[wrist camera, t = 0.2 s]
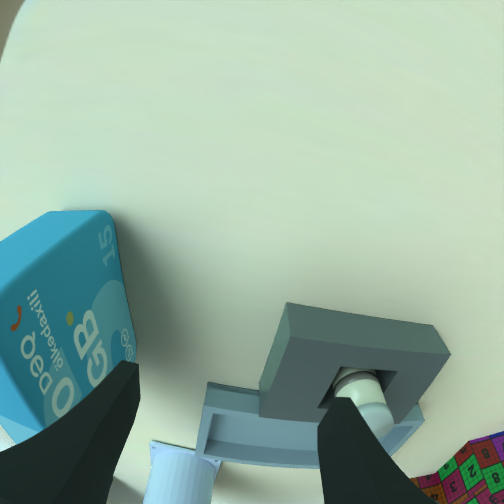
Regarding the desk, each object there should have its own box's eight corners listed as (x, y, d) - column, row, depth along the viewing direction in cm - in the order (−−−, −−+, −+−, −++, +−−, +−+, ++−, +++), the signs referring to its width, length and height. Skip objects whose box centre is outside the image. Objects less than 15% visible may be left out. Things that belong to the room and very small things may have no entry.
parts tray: (376, 449, 29) (380, 466, 27) (197, 436, 28) (194, 455, 25) (417, 401, 25) (424, 420, 23) (207, 381, 24) (203, 405, 22)
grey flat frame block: (389, 394, 24) (399, 423, 21) (259, 382, 24) (258, 417, 21) (432, 325, 21) (450, 354, 18) (286, 302, 20) (290, 336, 17)
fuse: (358, 374, 23) (378, 444, 17) (319, 370, 23) (332, 444, 17) (375, 343, 22) (403, 414, 16) (335, 338, 22) (355, 414, 15)
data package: (140, 352, 23) (87, 483, 12) (91, 345, 23) (28, 459, 12) (113, 203, 18) (-22, 311, 7) (57, 204, 18) (-75, 295, 7)
